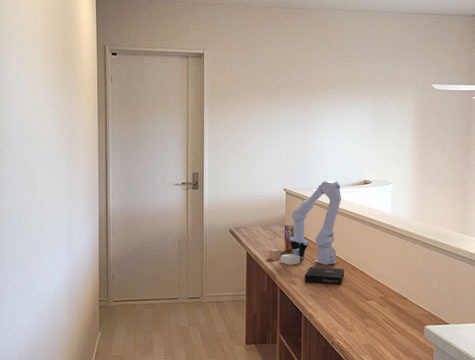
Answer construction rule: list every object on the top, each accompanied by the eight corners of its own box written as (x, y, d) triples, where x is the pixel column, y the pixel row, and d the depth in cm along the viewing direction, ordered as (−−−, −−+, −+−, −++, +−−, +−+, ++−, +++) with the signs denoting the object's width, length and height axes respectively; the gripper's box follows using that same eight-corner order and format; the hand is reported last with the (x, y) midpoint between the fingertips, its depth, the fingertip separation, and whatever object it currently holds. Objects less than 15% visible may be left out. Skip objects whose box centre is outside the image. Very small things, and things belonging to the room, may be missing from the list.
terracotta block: (280, 258, 311) (280, 249, 311) (275, 260, 308) (275, 251, 307) (274, 257, 314) (274, 248, 314) (268, 258, 311) (268, 249, 311)
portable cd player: (343, 276, 274) (343, 268, 273) (340, 286, 257) (340, 277, 257) (310, 274, 278) (310, 266, 278) (304, 283, 262) (304, 275, 261)
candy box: (300, 251, 328) (300, 225, 327) (295, 252, 326) (295, 226, 324) (289, 249, 335) (289, 224, 334) (284, 250, 333) (284, 224, 331)
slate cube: (304, 258, 311) (304, 249, 311) (297, 259, 309) (297, 250, 308) (299, 257, 315) (299, 248, 315) (292, 258, 313) (293, 249, 312)
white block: (299, 263, 301) (299, 256, 300) (289, 265, 297) (289, 257, 297) (291, 260, 307) (291, 253, 306) (281, 262, 303) (281, 255, 302)
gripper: (285, 230, 315) (285, 254, 316) (300, 234, 302) (300, 259, 304) (295, 228, 318) (295, 252, 320) (311, 232, 306) (311, 257, 307)
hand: (298, 255), depth 312 cm, fingers open, 5 cm apart
